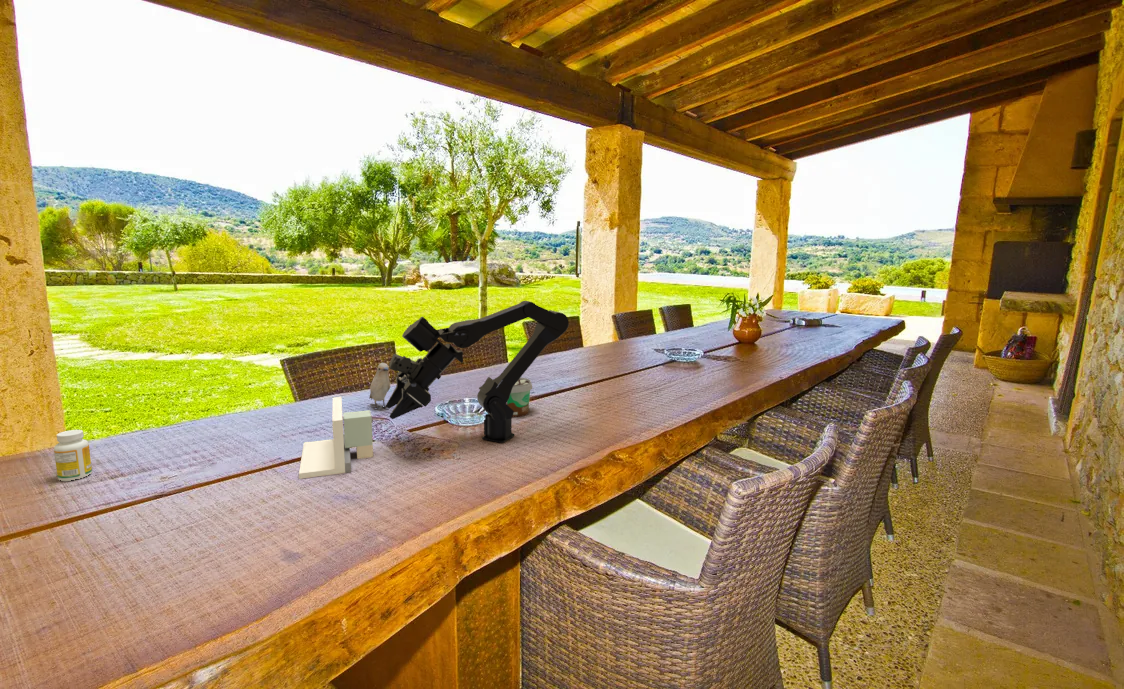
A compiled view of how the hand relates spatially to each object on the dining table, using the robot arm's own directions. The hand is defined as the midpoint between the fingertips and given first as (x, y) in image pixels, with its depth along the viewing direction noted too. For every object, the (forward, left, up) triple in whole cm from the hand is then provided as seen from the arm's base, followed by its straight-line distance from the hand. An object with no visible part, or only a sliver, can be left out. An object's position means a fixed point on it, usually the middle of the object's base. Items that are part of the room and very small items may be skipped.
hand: (388, 412), depth 125 cm
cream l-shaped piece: (+10, +11, -10) cm, 17 cm away
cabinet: (+4, +5, -10) cm, 12 cm away
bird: (+28, -26, -10) cm, 39 cm away
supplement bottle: (+48, +41, -10) cm, 64 cm away
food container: (-13, -42, -10) cm, 45 cm away
